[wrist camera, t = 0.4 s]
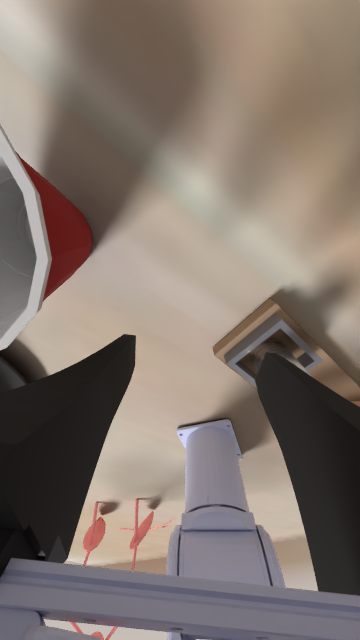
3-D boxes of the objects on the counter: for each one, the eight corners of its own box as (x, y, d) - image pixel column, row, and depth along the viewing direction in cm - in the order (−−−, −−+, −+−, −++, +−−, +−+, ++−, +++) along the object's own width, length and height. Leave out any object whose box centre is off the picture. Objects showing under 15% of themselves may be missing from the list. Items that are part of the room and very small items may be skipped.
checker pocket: (314, 351, 19) (323, 360, 18) (263, 386, 22) (268, 396, 20) (274, 312, 18) (281, 319, 16) (223, 355, 20) (226, 363, 19)
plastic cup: (97, 142, 14) (-131, -181, 3) (134, 281, 19) (90, 342, 8) (-41, 167, 14) (-733, -69, 3) (29, 300, 19) (-166, 388, 8)
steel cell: (287, 362, 20) (339, 429, 13) (253, 370, 21) (286, 437, 14) (284, 334, 19) (339, 393, 12) (247, 344, 19) (280, 404, 12)
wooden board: (380, 409, 24) (392, 419, 23) (324, 436, 27) (331, 447, 26) (269, 297, 19) (276, 303, 17) (212, 347, 21) (214, 355, 20)
